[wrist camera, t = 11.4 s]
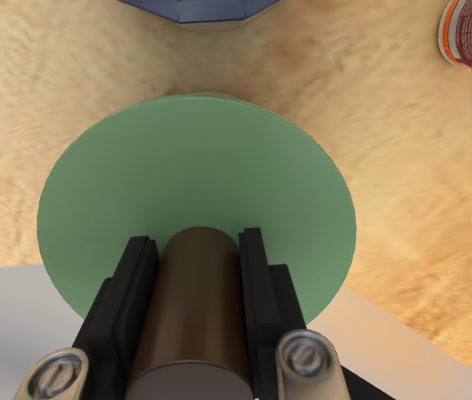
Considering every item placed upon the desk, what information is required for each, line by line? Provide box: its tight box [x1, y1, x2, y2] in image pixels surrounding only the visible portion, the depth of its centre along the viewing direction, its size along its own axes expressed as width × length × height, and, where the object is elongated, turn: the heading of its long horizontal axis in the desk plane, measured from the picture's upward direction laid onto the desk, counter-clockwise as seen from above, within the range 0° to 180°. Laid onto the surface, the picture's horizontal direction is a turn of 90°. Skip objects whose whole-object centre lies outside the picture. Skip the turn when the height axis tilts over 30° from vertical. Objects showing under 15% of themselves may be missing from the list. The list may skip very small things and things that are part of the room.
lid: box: [37, 94, 356, 400], centre depth 9 cm, size 11×11×6 cm
